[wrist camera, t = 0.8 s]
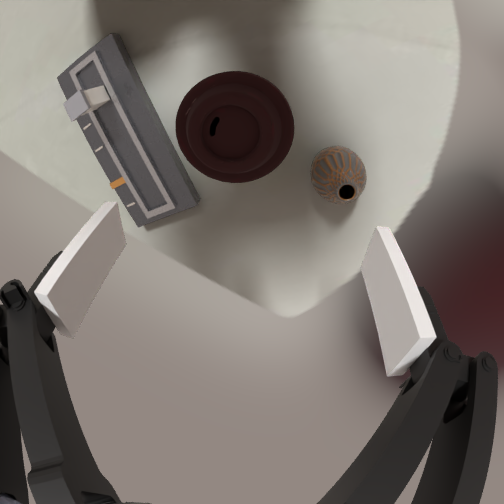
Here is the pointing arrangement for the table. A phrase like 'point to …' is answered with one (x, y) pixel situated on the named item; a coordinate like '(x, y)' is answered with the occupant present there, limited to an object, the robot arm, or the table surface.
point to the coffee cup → (235, 126)
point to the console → (129, 135)
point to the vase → (338, 175)
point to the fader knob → (85, 101)
